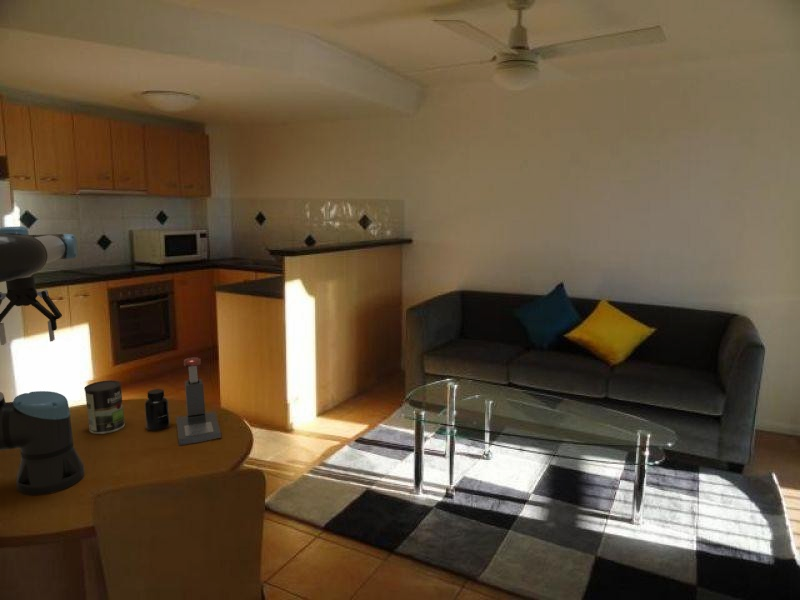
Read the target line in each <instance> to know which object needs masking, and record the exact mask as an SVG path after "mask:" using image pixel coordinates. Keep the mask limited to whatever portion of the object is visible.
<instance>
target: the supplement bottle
mask: <svg viewBox="0 0 800 600" xmlns="http://www.w3.org/2000/svg"><path fill="white" fill-rule="evenodd" d="M144 412H145V426H146V429H147V430H148V431H153V432H156V431H163V430H166V429H167V428H169V426H170V412H169V400H168V399H167V398H166V397H165V390H164V389H163V388H155V389H154V388H153V389H150V390H149V391H147V400H146V401H145V402H144Z"/></svg>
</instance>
